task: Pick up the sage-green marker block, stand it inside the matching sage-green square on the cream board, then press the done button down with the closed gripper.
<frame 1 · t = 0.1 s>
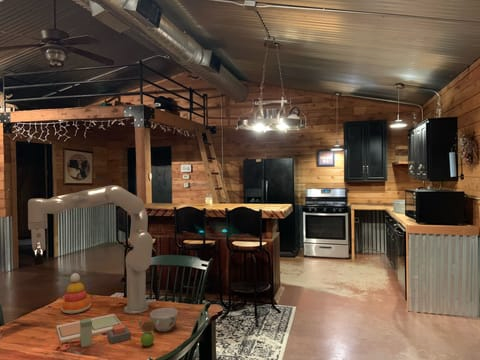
hand: (38, 262, 162), 31 cm above the table, tool pointing down, fingers open, 9 cm apart
picture board: (89, 328, 164), on the table
stacking toy: (76, 310, 187), on the table
snail figurine: (146, 345, 147), on the table
teacup: (163, 330, 161), on the table
done button: (118, 330, 154), point 4 cm above the table, slide at 0.0 cm
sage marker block: (86, 344, 148), on the table
button housing: (119, 338, 154), on the table
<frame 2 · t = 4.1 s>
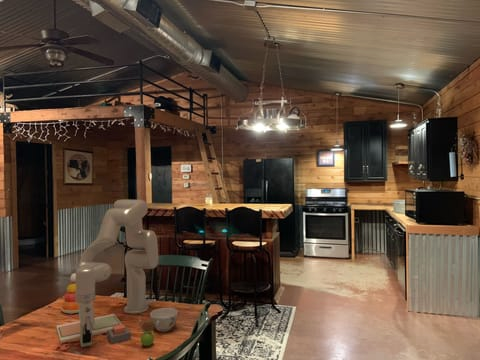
hand: (86, 339, 148), 2 cm above the table, tool pointing down, fingers closed on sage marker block, 4 cm apart
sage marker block: (86, 344, 148), on the table, touching gripper
everything else where it was.
when the fingers open (4 cm above the table, at t = 10.6 s): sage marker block drops 1 cm, resting on picture board.
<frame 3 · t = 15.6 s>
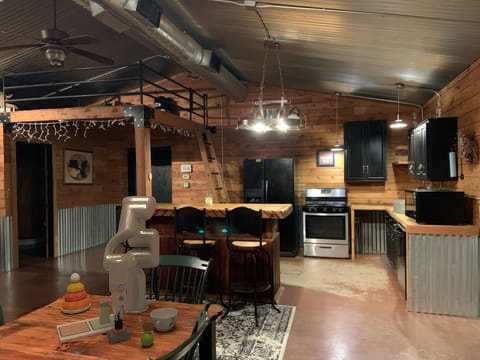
hand: (118, 328, 153), 4 cm above the table, tool pointing down, fingers closed
done button: (118, 331, 154), point 3 cm above the table, slide at 0.7 cm, touching gripper
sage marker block: (104, 322, 168), point 1 cm above the table, touching picture board
everything else where it was.
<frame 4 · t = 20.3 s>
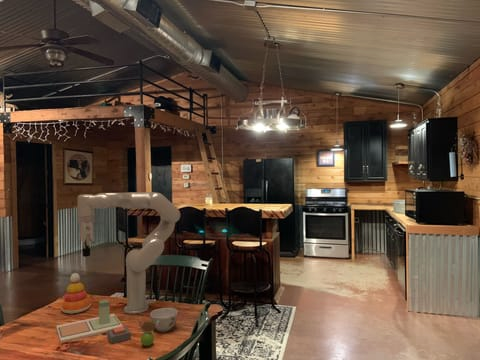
hand: (86, 256, 175), 31 cm above the table, tool pointing down, fingers closed
done button: (118, 332, 154), point 2 cm above the table, slide at 1.0 cm
everything else where it was.
at the end: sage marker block inside the target area on the picture board (0.0 cm from its centre), point 1.2 cm above the picture board's base; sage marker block tilted 0°; done button slide at 1.0 cm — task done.
